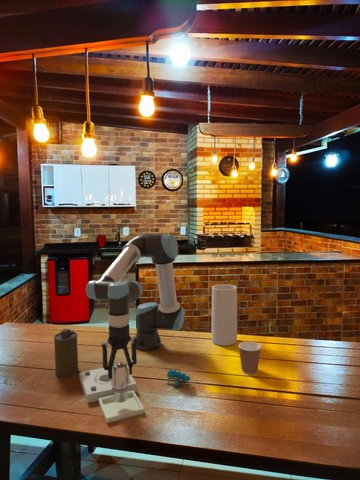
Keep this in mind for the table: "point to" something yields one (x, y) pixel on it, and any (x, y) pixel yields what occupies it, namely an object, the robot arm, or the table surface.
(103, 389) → the bearing plate
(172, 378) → the teal bumpy figure
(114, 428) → the table surface
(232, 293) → the vase
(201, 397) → the table surface
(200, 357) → the table surface
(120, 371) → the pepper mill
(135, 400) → the parts tray
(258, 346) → the coffee cup
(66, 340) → the canister
